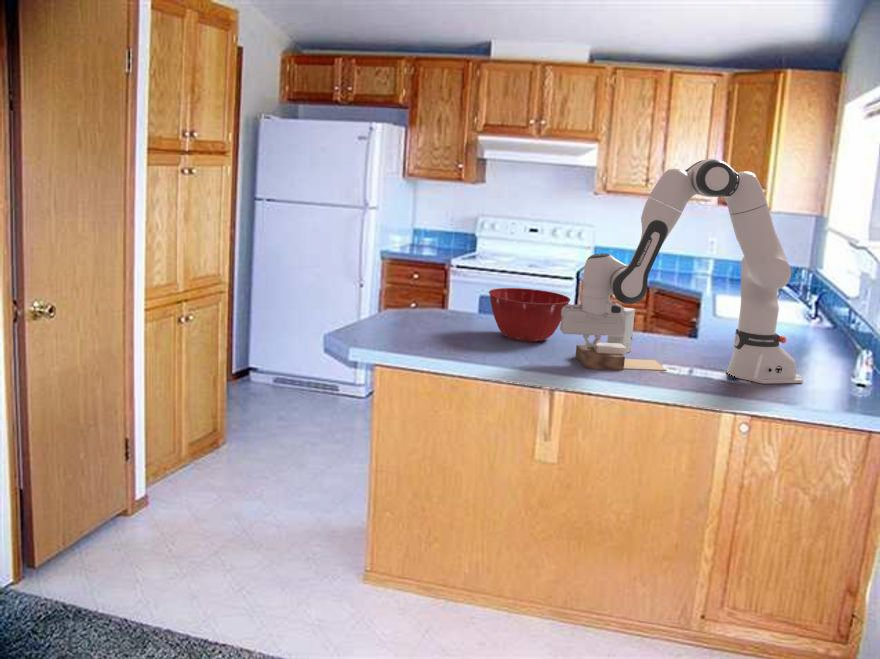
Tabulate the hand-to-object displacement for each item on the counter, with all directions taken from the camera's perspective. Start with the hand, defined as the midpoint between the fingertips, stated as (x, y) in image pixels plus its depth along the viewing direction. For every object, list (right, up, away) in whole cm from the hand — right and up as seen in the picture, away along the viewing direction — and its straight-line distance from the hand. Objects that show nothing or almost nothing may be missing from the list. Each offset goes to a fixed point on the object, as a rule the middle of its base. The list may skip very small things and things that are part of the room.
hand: (590, 348), depth 275 cm
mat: (+16, -5, +2) cm, 17 cm away
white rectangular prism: (+6, -1, +1) cm, 6 cm away
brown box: (+3, -5, +1) cm, 6 cm away
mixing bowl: (-17, +3, +31) cm, 36 cm away
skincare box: (+13, -2, +19) cm, 23 cm away
